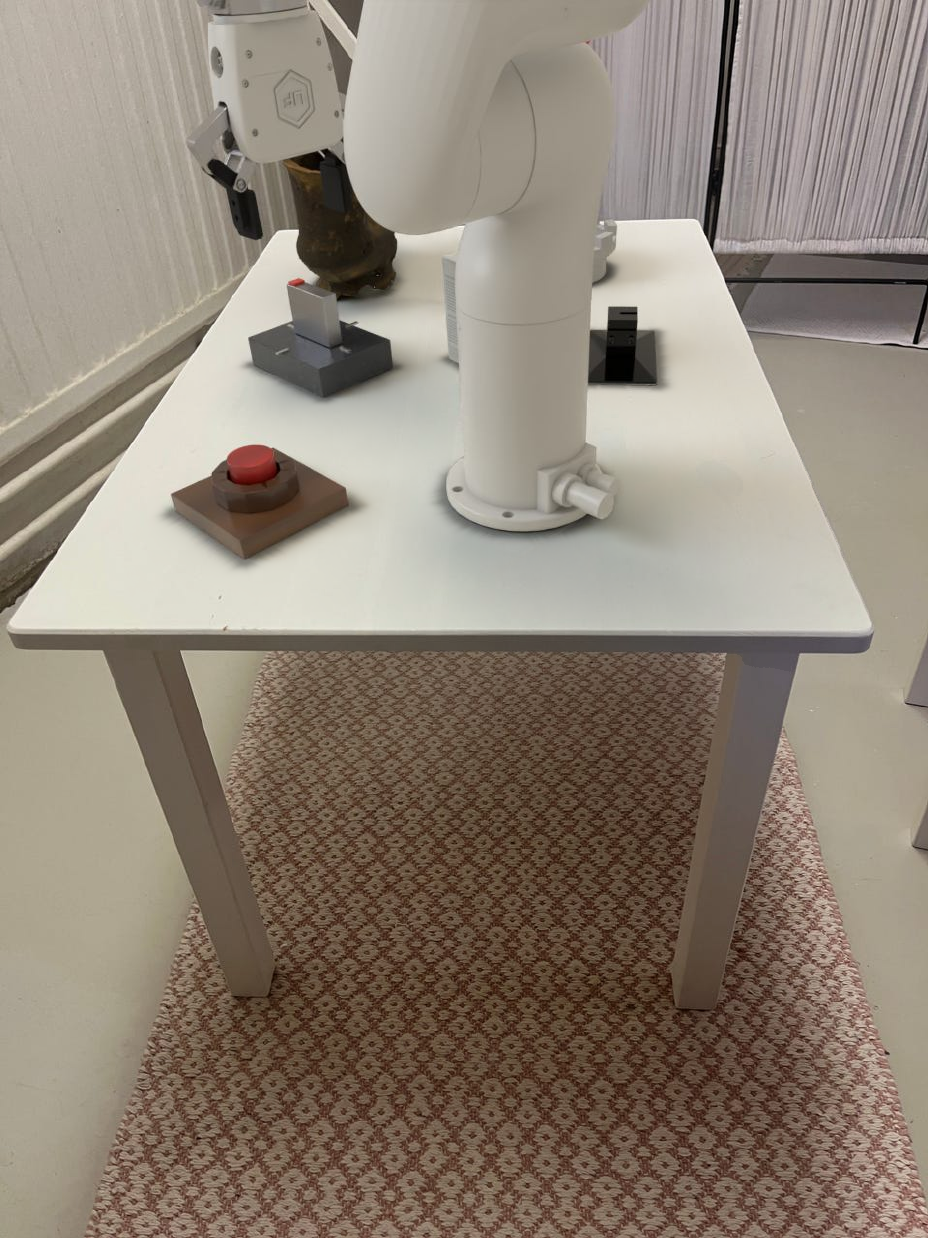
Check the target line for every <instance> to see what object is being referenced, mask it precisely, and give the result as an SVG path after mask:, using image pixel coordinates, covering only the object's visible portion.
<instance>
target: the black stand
mask: <svg viewBox="0 0 928 1238" xmlns="http://www.w3.org/2000/svg"><path fill="white" fill-rule="evenodd" d="M638 312H639V311H638V306H616V305H615V306H610V305H609V306H607V323H606V329H590V341H589V366H588V385H630V386H631V385H635V386H637V385H639V386H640V385H641V386H642V385H643V386H656V385H657V384H658V378H657V377H658V376H657V358H656V357H657V356H656V355H657V354H656V338H655V337H656V335H655V330H653V329H638V323H639V318H638Z"/></svg>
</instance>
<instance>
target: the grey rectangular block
mask: <svg viewBox="0 0 928 1238" xmlns="http://www.w3.org/2000/svg"><path fill="white" fill-rule="evenodd" d="M287 282H288V283H286V290H287V296H288V301H289V308H290V314H291V319H292V320H291V321H293V326H294V332H295V333H297V334H299V335H301V336H304V337H306V338H308V339H311V340H313V341H315V342H317V343H320V344H322V345H324V346H327V347H329V348H331V347H334V346H336V345H339V344H341V343H342V337H341V329H340V322H339V320H340V315H339V308H338V301H337V300H338V299H336V294H335V293H333V292H330V291H328V290H325V289H322V288H319V287H317V286H316V285H314V284H311V283H309V282H306V281H305V279H302V278H300V277H298V278H294V279H291V280H289V281H287Z"/></svg>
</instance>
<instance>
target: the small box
mask: <svg viewBox="0 0 928 1238" xmlns="http://www.w3.org/2000/svg"><path fill="white" fill-rule="evenodd" d="M457 254H458V251H455V252H453V253H449V254H445V255H442V257H441V266H442V279H443V280H442V281H443V294H444V310H445V325H446V339H447V352H448V353H447V355H448V359H449V360H451V361H453V362H455V363H457V364H458V365H459V355H458V337H457V319H456V297H455V268H456V260H457Z"/></svg>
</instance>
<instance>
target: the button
mask: <svg viewBox="0 0 928 1238" xmlns="http://www.w3.org/2000/svg"><path fill="white" fill-rule="evenodd" d="M271 448H272V447H269V446H267V445H266V444H265V445H264V444H247V445H243V446H240V447H237V448H235V449H233V450H232V451H230V453H229V454H228V455H227V457H226V460H227V463H228V467H229V471H230V476H231V480H232V481H233V482H234V483H235V484H239V485H254V484H260V483H264V482H266V481H268V480H270V479H272V478H274V477H275V476H276V475H277V467H276V462H275V457H274V452H273V450H272V449H271Z"/></svg>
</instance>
